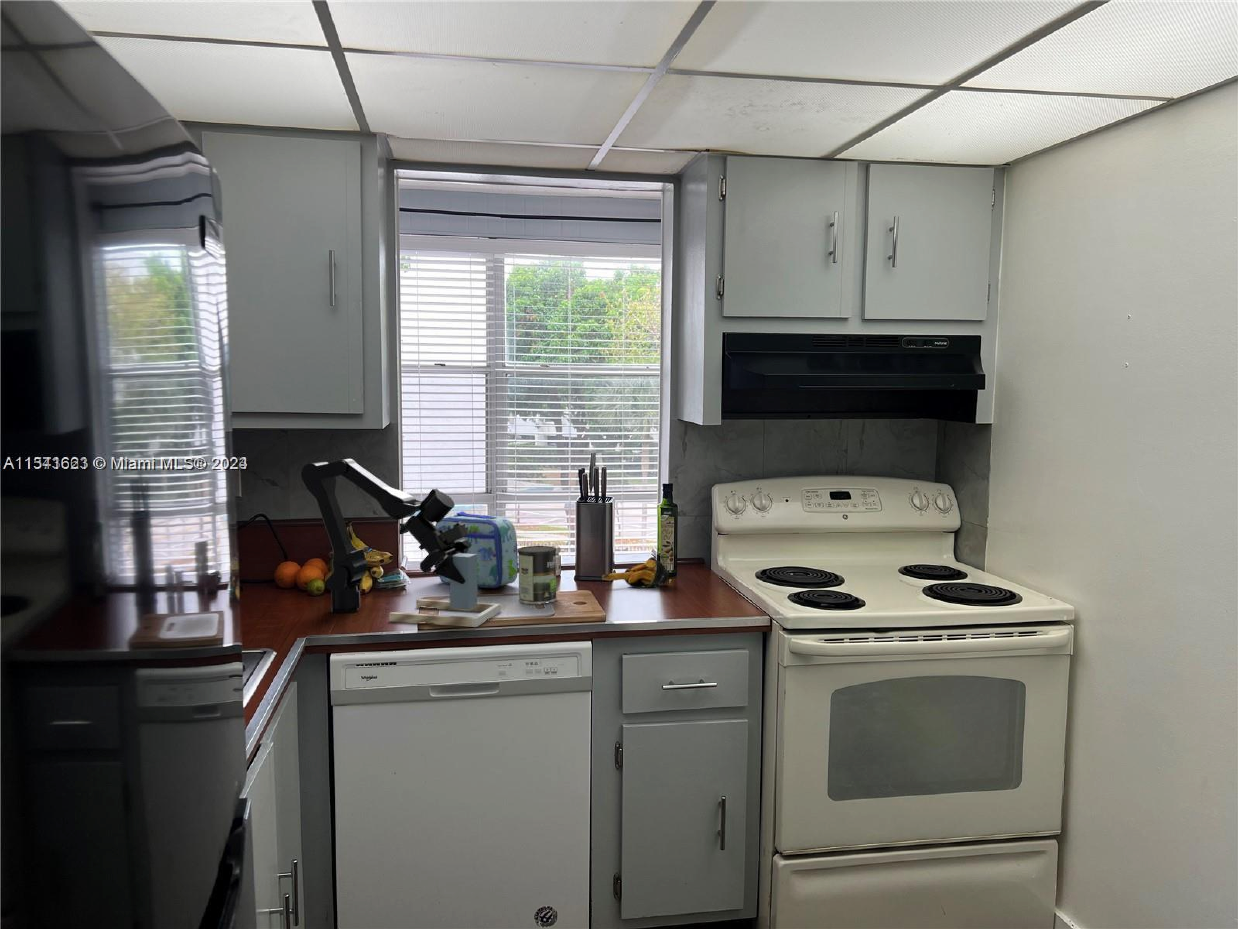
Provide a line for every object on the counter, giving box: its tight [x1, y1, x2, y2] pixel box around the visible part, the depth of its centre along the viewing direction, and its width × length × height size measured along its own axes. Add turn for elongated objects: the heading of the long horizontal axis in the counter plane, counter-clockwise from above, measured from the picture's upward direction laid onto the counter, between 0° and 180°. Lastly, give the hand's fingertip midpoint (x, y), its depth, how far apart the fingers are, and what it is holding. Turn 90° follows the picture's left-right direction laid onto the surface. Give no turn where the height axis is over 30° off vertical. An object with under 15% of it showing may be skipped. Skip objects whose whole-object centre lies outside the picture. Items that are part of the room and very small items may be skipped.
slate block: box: [449, 553, 478, 610], centre depth 217 cm, size 5×5×13 cm
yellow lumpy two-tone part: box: [601, 556, 670, 589], centre depth 250 cm, size 9×11×18 cm
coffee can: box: [517, 545, 557, 605], centre depth 235 cm, size 10×10×14 cm
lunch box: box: [434, 511, 519, 589], centre depth 255 cm, size 26×11×21 cm, turn 56°
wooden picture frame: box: [388, 598, 502, 628], centre depth 219 cm, size 23×15×2 cm, turn 75°
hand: (468, 580), depth 216 cm, fingers closed on slate block, 5 cm apart
